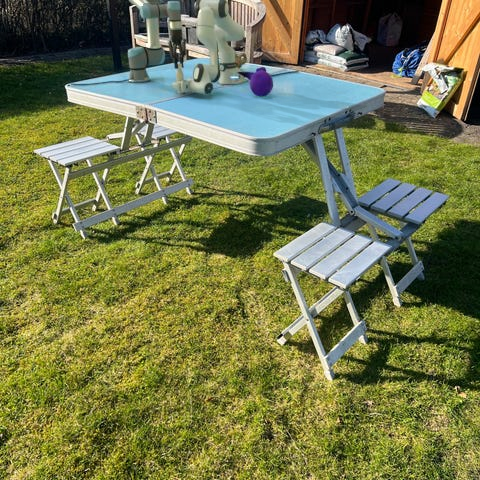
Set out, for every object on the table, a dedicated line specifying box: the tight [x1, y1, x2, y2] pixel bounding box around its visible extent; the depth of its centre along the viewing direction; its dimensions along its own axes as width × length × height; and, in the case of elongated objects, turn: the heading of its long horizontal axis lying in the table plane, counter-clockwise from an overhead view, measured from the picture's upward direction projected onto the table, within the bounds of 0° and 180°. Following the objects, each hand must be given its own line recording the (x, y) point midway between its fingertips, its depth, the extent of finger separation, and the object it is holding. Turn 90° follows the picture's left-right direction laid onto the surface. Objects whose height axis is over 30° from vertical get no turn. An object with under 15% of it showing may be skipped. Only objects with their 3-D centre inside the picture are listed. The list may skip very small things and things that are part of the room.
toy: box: [237, 66, 274, 97], centre depth 289 cm, size 16×18×27 cm
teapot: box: [235, 51, 248, 70], centre depth 367 cm, size 21×12×15 cm, turn 120°
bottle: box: [175, 68, 186, 95], centre depth 298 cm, size 5×5×18 cm
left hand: (179, 67), depth 294 cm, fingers closed on cap, 4 cm apart
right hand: (179, 82), depth 299 cm, fingers closed on bottle, 5 cm apart
